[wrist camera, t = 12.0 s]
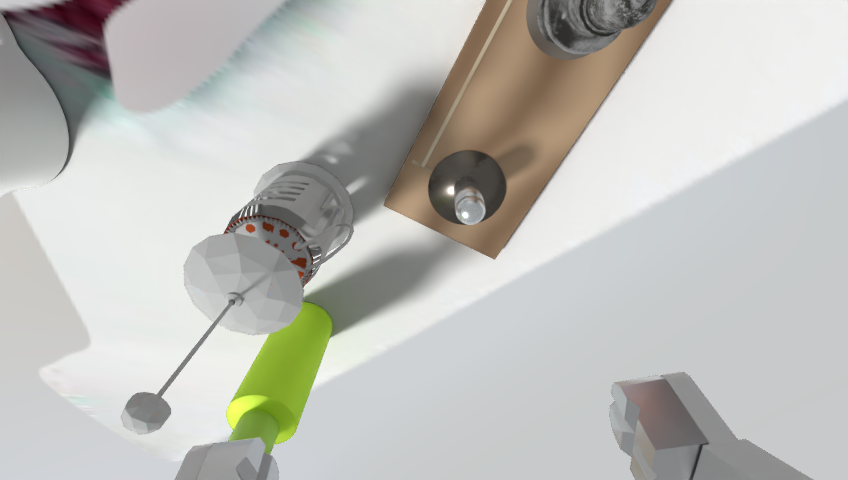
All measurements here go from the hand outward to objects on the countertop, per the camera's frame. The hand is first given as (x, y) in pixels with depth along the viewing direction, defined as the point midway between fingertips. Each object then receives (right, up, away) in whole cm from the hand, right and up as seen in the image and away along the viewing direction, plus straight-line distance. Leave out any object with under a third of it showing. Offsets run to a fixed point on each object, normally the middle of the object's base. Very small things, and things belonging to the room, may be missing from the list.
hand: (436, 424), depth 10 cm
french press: (-11, +7, +31) cm, 34 cm away
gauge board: (+7, +16, +26) cm, 31 cm away
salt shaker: (+11, +22, +22) cm, 32 cm away
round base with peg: (+4, +9, +28) cm, 30 cm away
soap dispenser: (-14, -5, +37) cm, 40 cm away
